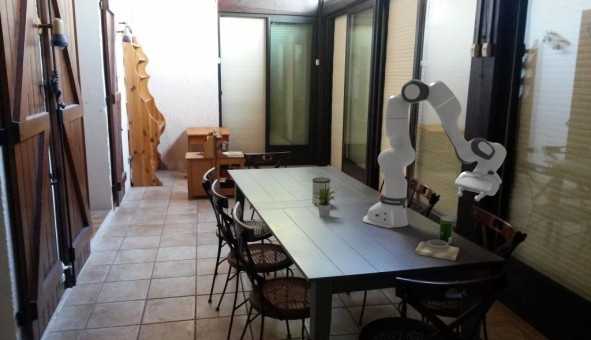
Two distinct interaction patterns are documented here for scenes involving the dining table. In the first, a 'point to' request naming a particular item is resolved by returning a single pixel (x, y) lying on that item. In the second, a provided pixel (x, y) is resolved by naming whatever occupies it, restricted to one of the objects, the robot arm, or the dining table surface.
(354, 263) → the dining table surface
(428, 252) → the board
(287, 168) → the dining table surface
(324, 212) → the house plant
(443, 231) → the beer can
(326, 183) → the glass jar with lid
